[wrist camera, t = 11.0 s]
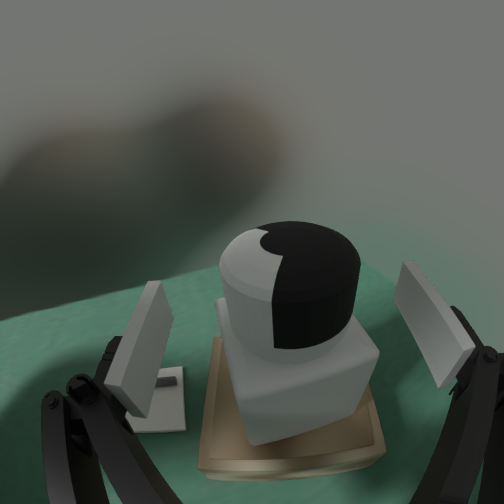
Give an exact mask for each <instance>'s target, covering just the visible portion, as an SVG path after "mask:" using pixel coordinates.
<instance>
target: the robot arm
mask: <svg viewBox="0 0 504 504" xmlns="http://www.w3.org/2000/svg"><path fill="white" fill-rule="evenodd" d="M393 301H394V303H395V304H396V306H397V308H398V310H399V311H400V313H401V315H402V317H403V319H404V320H405V322H406V324H407V326H408V328H409V330H410V331H411V333H412V335H413V337H414V339H415V341H416V343H417V345H418V347H419V349H420V351H421V353H422V355H423V357H424V359H425V361H426V363H427V365H428V367H429V369H430V371H431V373H432V376H433V378H434V380H435V382H436V384H437V387H438V388H441V387H444V386H446V385H449V384H451V382H452V381H453V379H454V378H455V377H456V378H457V380H458V382H457V383H456V384H455V386H454V387H453V388H452V390H451V391H450V393H449V395H451V394H452V392H453V391H454V393H453V397H452V400H451V404H450V408H449V411H448V414H447V417H446V421H445V424H444V427H443V430H442V432H441V435H440V438H439V441H438V443H437V446H436V448H435V451H434V453H433V456H432V458H431V461H430V463H429V465H428V467H427V470H426V472H425V474H424V476H423V478H422V480H421V482H420V484H419V486H418V488H417V490H416V492H415V494H414V496H413V497H412V499H411V501H410V503H409V504H468V500H469V497H470V495H471V492H472V490H473V487H474V485H475V482H476V479H477V476H478V473H479V470H480V467H481V464H482V461H483V457H484V465H483V473H482V480H481V486H480V491H479V497H478V501H477V504H504V353H497V351H496V350H495V349H493V348H492V347H490V346H484V345H483V344H482V342H481V341H480V339H479V338H478V336H477V335H476V333H475V331H474V330H473V329H472V327H471V326H470V324H469V323H468V321H467V320H466V318H465V317H464V316H463V314H462V313H461V311H459V310H458V309H457V308H456V307H454V306H450V307H449V306H448V304H447V303H446V301H445V300H444V298H443V297H442V296H441V294H440V293H439V292H438V290H437V289H436V288H435V287H434V285H433V284H432V283H431V281H430V280H429V279H428V277H427V276H426V275H425V274H424V273H423V271H422V270H421V269H420V268H419V266H418V265H417V264H416V263H415V261H404V262H403V263H402V267H401V271H400V276H399V280H398V283H397V287H396V291H395V295H394V298H393ZM173 320H174V318H173V315H172V312H171V309H170V306H169V303H168V301H167V298H166V295H165V292H164V289H163V286H162V282H161V281H148V283H147V285H146V287H145V289H144V291H143V293H142V295H141V297H140V299H139V301H138V304H137V306H136V308H135V310H134V312H133V314H132V317H131V319H130V321H129V323H128V326H127V328H126V330H125V332H124V335H123V336H115V337H114V338H113V339H112V340H111V341H110V342H109V343H108V345H107V347H106V350H105V354H103V357H102V360H101V361H100V363H99V366H98V368H97V371H96V373H95V375H94V378H93V380H92V379H91V378H90V377H89V376H88V375H86V374H78V375H75V376H74V377H72V378H71V379H70V381H69V382H68V384H67V387H66V392H67V394H68V395H69V396H65V397H64V396H63V395H62V394H61V393H60V392H58V391H50V392H48V393H47V394H46V395H45V396H44V398H43V399H42V405H41V429H42V450H43V461H44V470H45V478H46V485H47V491H48V496H49V502H50V504H110V503H109V500H108V496H107V493H106V489H105V486H104V482H103V478H102V474H101V470H100V465H99V461H98V458H99V460H100V463H101V465H102V467H103V469H104V471H105V473H106V475H107V477H108V479H109V480H110V482H111V484H112V486H113V488H114V490H115V491H116V493H117V495H118V497H119V498H120V500H121V502H122V503H123V504H183V503H182V502H181V501H180V499H179V498H178V497H177V496H176V494H175V493H174V492H173V490H172V489H171V488H170V486H169V485H168V484H167V482H166V481H165V480H164V478H163V477H162V475H161V474H160V472H159V471H158V469H157V468H156V467H155V465H154V464H153V462H152V460H151V459H150V457H149V456H148V454H147V453H146V451H145V449H144V448H143V446H142V444H141V443H140V441H139V439H138V438H137V436H136V434H135V433H134V431H133V429H132V427H131V425H130V424H129V422H128V420H127V419H126V418H125V416H126V412H127V411H128V412H129V413H130V415H131V416H133V417H139V418H146V419H147V418H148V413H149V409H150V405H151V401H152V397H153V393H154V389H155V385H156V381H157V377H158V373H159V369H160V365H161V362H162V358H163V354H164V351H165V347H166V344H167V340H168V337H169V333H170V330H171V326H172V323H173ZM484 454H485V455H484Z"/></svg>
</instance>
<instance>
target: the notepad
mask: <svg viewBox="0 0 504 504" xmlns="http://www.w3.org/2000/svg"><path fill="white" fill-rule="evenodd" d="M94 375H95V374H94ZM125 418H126V419H127V420H128V422H129V424H130V425H131V427H132V429H133V431H134V433H156V432H175V431H187V430H186V417H185V401H184V381H183V367H182V366H180V367H171V368H162V369H159V373H158V377H157V381H156V385H155V389H154V393H153V397H152V401H151V405H150V409H149V413H148V418H147V419H146V418H139V417H133V416H131V415H130V413H129V412H128V411H127V412H126V416H125Z"/></svg>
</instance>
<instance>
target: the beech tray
mask: <svg viewBox="0 0 504 504" xmlns="http://www.w3.org/2000/svg"><path fill="white" fill-rule="evenodd" d="M386 452H387V450H386V446H385V441H384V437H383V433H382V429H381V425H380V421H379V418H378V414H377V410H376V407H375V403H374V399H373V396H372V392H371V389H370V386H369V382H368V384H367V387H366V389H365V391H364V393H363V395H362V397H361V399H360V402H359V404H358V406H357V408H356V410H355V412H354V414H352V415H351V416H349V417H346V418H344V419H341V420H339V421H336V422H334V423H331V424H328V425H325V426H323V427H320V428H317V429H314V430H311V431H308V432H305V433H302V434H299V435H295V436H292V437H289V438H285V439H281V440H278V441H274V442H270V443H266V444H262V445H258V446H253V445H251V444H250V443H249V440H248V437H247V434H246V431H245V428H244V425H243V421H242V418H241V415H240V411H239V408H238V405H237V401H236V398H235V394H234V390H233V386H232V381H231V377H230V373H229V368H228V364H227V360H226V355H225V351H224V346H223V341H222V337H214V341H213V347H212V354H211V361H210V368H209V375H208V383H207V390H206V398H205V405H204V413H203V421H202V429H201V437H200V445H199V454H198V463H197V469H198V470H199V471H201V472H202V473H203V474H204V475H205V476H207V477H208V478H209V479H210V480H224V481H276V480H291V479H301V478H310V477H318V476H325V475H331V474H337V473H342V472H347V471H352V470H357V469H361V468H366V467H370V466H371V465H373V464H374V463H375V462H376V461H377V460H378V459H379V458H381V457H382V456H383V455H384V454H385V453H386Z"/></svg>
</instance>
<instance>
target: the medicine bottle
mask: <svg viewBox="0 0 504 504" xmlns="http://www.w3.org/2000/svg"><path fill="white" fill-rule="evenodd" d="M360 266H361V262H360V257H359V254H358V252H357V250H356V249H355V247H354V246H353V245H352V243H351V242H350V241H349V240H348V239H347V238H346V237H344V236H343V235H342V234H340V233H338V232H337V231H334V230H332V229H330V228H327V227H324V226H320V225H316V224H313V223H307V222H298V221H285V222H277V223H270V224H266V225H263V226H260V227H257V228H253V229H251V230H249V231H246V232H244V233H242V234H241V235H239V236H238V237H236V238H235V239H234V240H233V241H232V242H231V243H230V244H229V245H228V247H227V248H226V249H225V251H224V252H223V254H222V256H221V259H220V265H219V267H220V272H221V278H222V283H223V289H224V294H225V297H224V298H219V299H218V300H217V301H216V303H215V307H216V312H217V317H218V322H219V327H220V332H221V337H222V341H223V346H224V351H225V355H226V360H227V364H228V368H229V373H230V377H231V381H232V386H233V390H234V394H235V398H236V401H237V405H238V408H239V411H240V415H241V418H242V421H243V425H244V428H245V431H246V434H247V437H248V440H249V443H250V444H251V445H253V446H258V445H262V444H266V443H270V442H274V441H278V440H281V439H285V438H289V437H292V436H295V435H299V434H302V433H305V432H308V431H311V430H314V429H317V428H320V427H323V426H325V425H328V424H331V423H334V422H336V421H339V420H341V419H344V418H346V417H349V416H351V415H352V414H354V412H355V410H356V408H357V406H358V404H359V402H360V399H361V397H362V395H363V393H364V391H365V389H366V387H367V384H368V382H369V380H370V377H371V375H372V373H373V370H374V368H375V366H376V363H377V361H378V358H379V355H380V352H379V349H378V348H377V347H376V345H375V344H374V342H373V341H372V340H371V338H370V337H369V336H368V334H367V333H366V331H365V330H364V329H363V327H362V326H361V325H360V323H359V322H358V321H357V319H356V318H355V317H354V315H353V314H352V312H353V307H354V302H355V296H356V290H357V285H358V279H359V272H360Z"/></svg>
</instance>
